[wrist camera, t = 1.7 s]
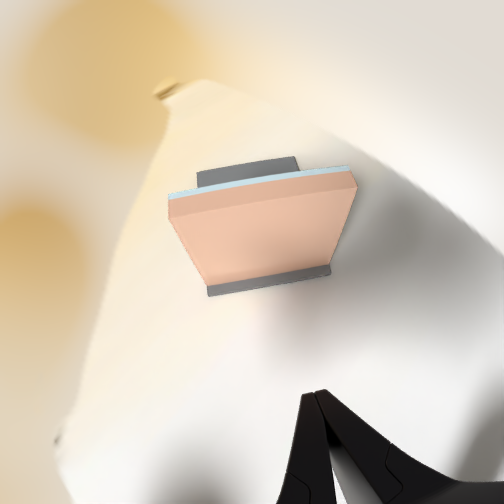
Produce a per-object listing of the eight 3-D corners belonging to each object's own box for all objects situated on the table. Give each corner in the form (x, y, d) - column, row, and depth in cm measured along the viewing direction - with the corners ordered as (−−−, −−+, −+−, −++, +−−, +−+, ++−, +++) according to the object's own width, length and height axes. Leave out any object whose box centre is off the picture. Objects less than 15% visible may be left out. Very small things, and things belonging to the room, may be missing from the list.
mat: (330, 274, 24) (331, 272, 23) (208, 296, 24) (207, 295, 23) (293, 158, 30) (293, 156, 29) (197, 175, 30) (196, 172, 29)
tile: (329, 264, 24) (357, 187, 15) (207, 286, 24) (168, 218, 15) (323, 247, 25) (347, 165, 16) (205, 268, 24) (168, 194, 15)
